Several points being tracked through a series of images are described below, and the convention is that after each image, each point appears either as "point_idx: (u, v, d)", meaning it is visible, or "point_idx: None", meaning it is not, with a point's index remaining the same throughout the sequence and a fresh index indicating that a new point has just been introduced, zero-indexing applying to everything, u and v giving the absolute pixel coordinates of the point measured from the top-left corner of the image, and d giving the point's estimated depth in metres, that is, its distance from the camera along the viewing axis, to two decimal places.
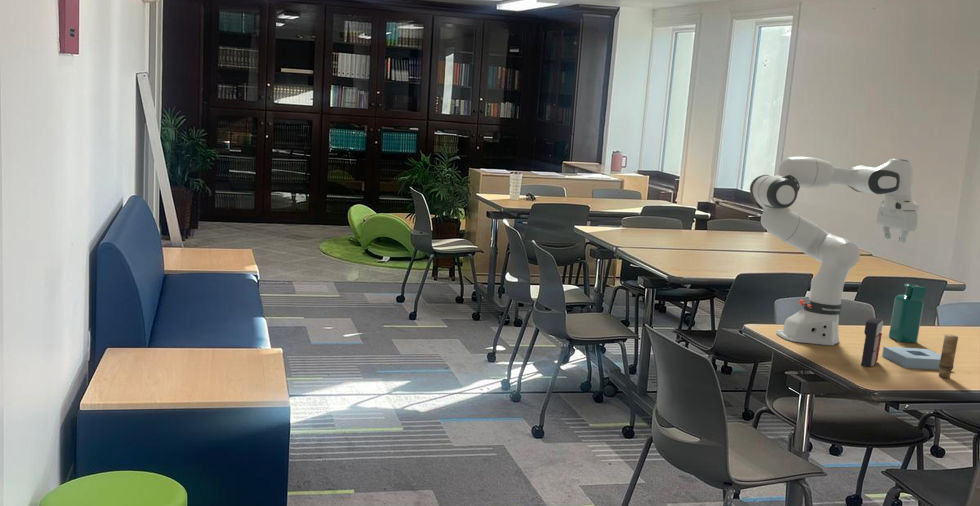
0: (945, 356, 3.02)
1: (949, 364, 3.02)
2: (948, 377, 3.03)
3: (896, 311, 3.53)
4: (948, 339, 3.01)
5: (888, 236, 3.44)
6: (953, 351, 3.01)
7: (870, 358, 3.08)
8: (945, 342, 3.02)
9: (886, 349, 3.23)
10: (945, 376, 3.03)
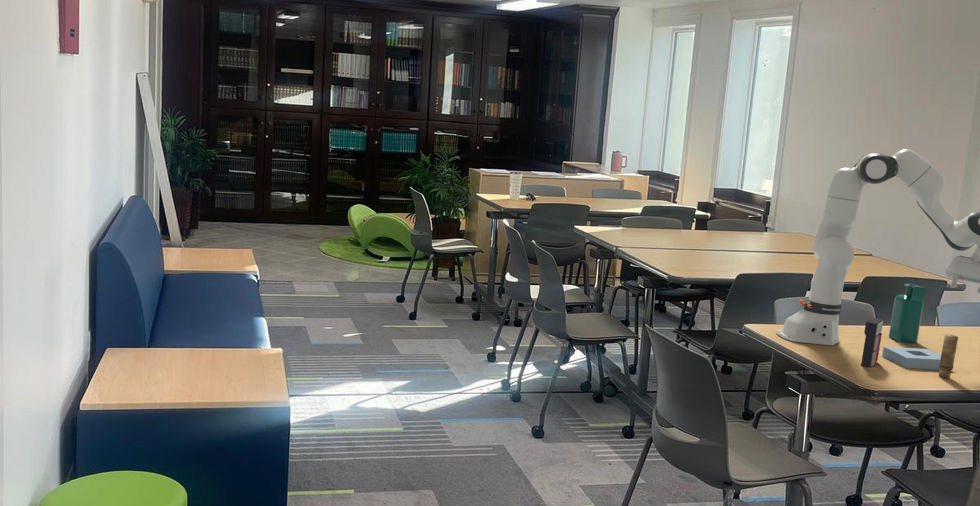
0: (945, 356, 3.02)
1: (949, 364, 3.02)
2: (948, 377, 3.03)
3: (896, 311, 3.53)
4: (947, 339, 3.01)
5: (955, 285, 3.18)
6: (953, 351, 3.01)
7: (870, 358, 3.08)
8: (945, 342, 3.02)
9: (886, 349, 3.23)
10: (945, 376, 3.03)
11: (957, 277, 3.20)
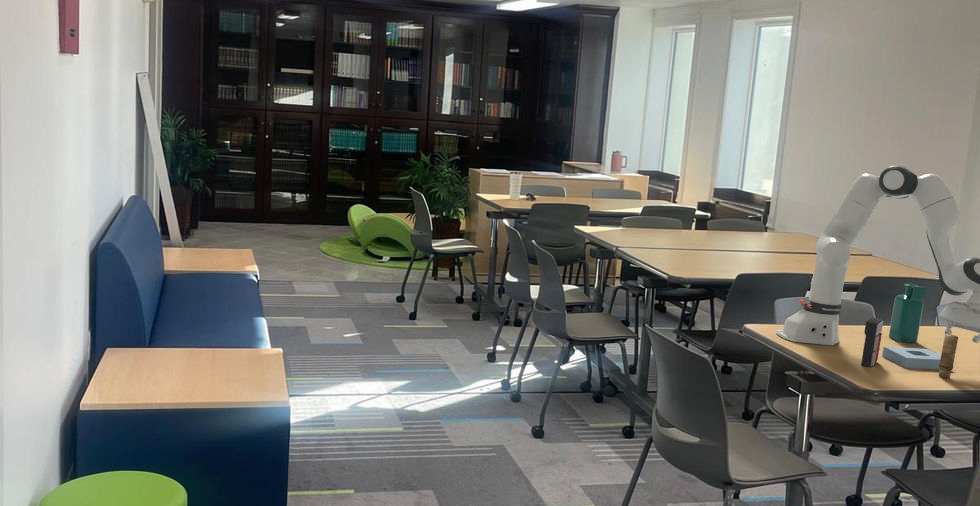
0: (945, 356, 3.02)
1: (949, 364, 3.02)
2: (948, 377, 3.03)
3: (896, 311, 3.53)
4: (948, 339, 3.01)
5: (950, 333, 3.09)
6: (953, 351, 3.01)
7: (870, 358, 3.08)
8: (945, 342, 3.02)
9: (886, 349, 3.23)
10: (945, 376, 3.03)
11: (952, 324, 3.11)
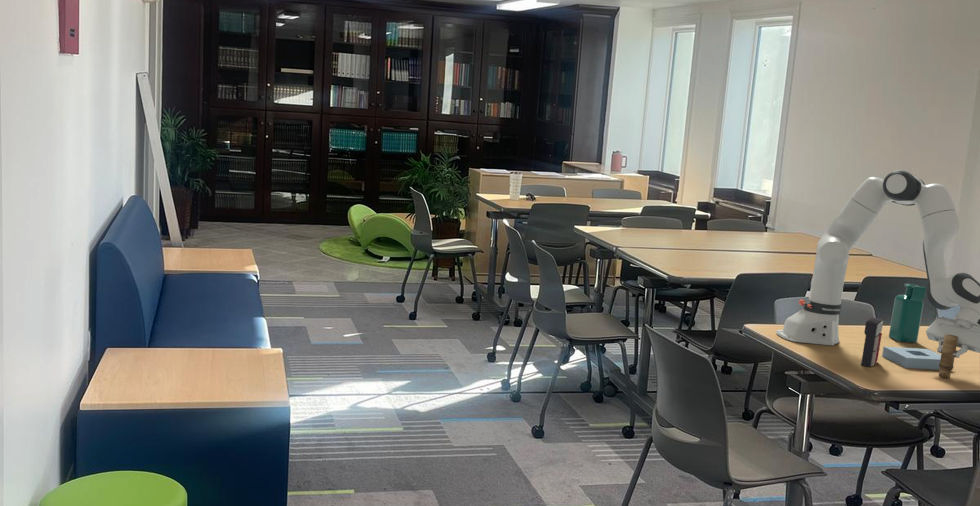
0: (945, 356, 3.02)
1: (949, 364, 3.02)
2: (948, 377, 3.03)
3: (896, 311, 3.53)
4: (947, 339, 3.01)
5: None
6: (953, 351, 3.01)
7: (870, 358, 3.08)
8: (945, 342, 3.02)
9: (886, 349, 3.23)
10: (945, 376, 3.03)
11: None
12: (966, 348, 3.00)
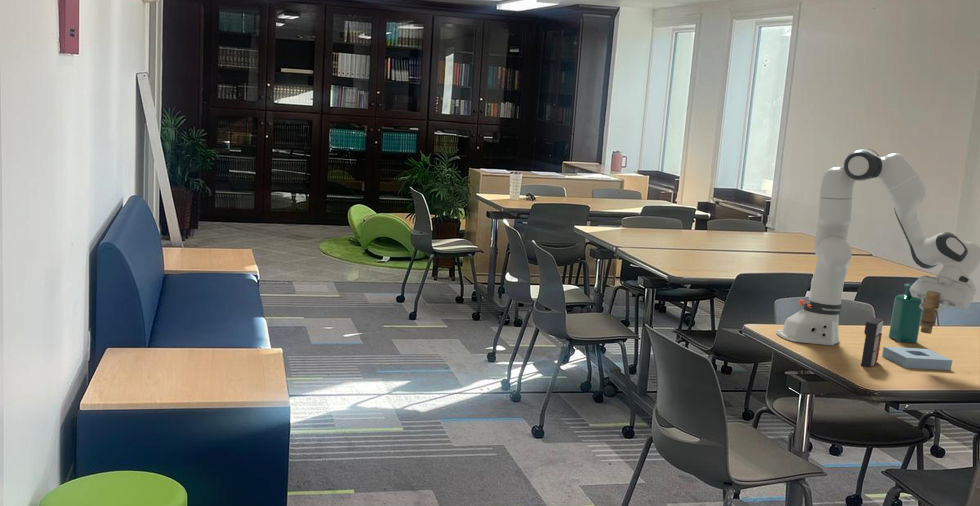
0: (927, 312, 3.12)
1: (931, 319, 3.12)
2: (929, 332, 3.13)
3: (896, 311, 3.53)
4: (929, 295, 3.11)
5: None
6: (935, 307, 3.11)
7: (870, 358, 3.08)
8: (927, 298, 3.12)
9: (886, 349, 3.23)
10: (927, 331, 3.13)
11: None
12: (947, 304, 3.10)
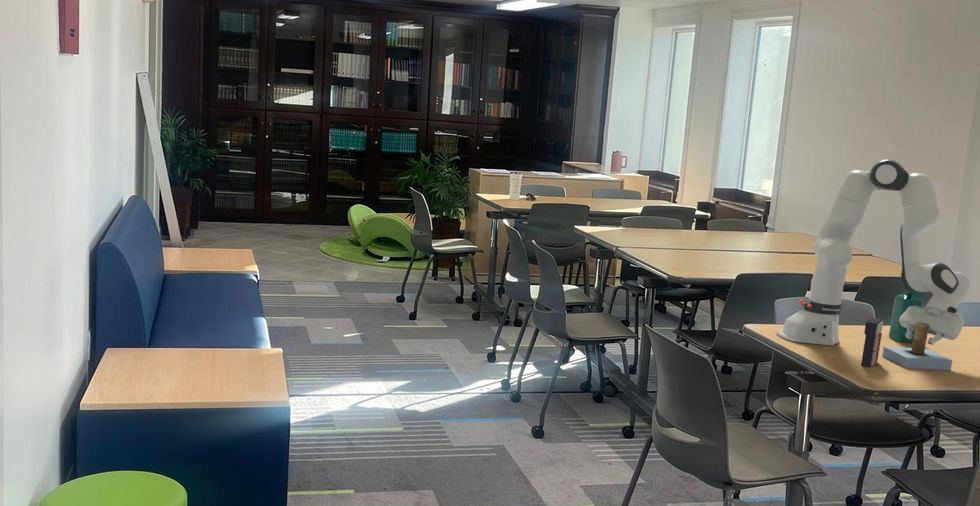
0: (917, 343, 3.17)
1: (920, 350, 3.17)
2: None
3: (896, 311, 3.53)
4: (919, 327, 3.17)
5: (910, 336, 3.21)
6: (924, 338, 3.17)
7: (870, 358, 3.08)
8: (917, 330, 3.18)
9: (886, 349, 3.23)
10: None
11: (912, 328, 3.23)
12: (940, 335, 3.15)
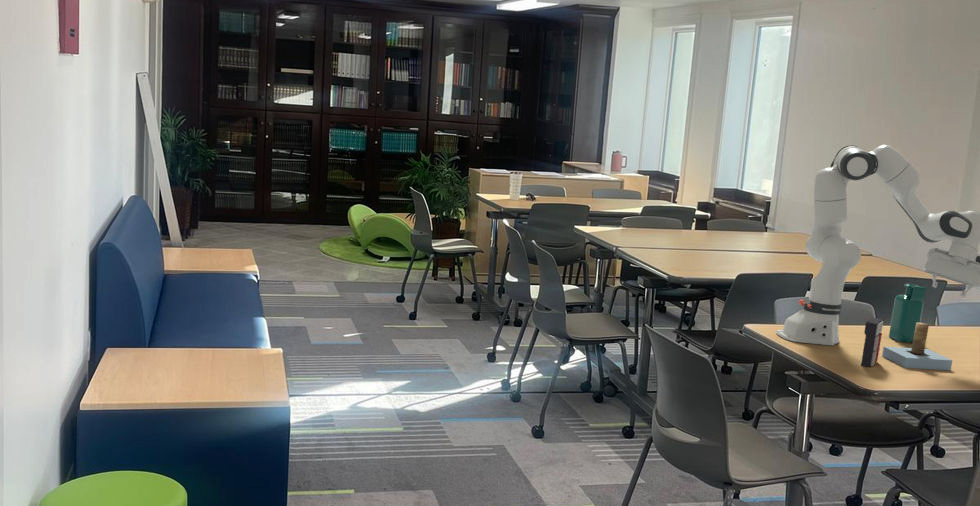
0: (917, 343, 3.17)
1: (920, 350, 3.17)
2: None
3: (896, 311, 3.53)
4: (919, 327, 3.17)
5: (936, 285, 3.26)
6: (924, 338, 3.17)
7: (870, 358, 3.08)
8: (916, 330, 3.18)
9: (886, 349, 3.23)
10: None
11: (937, 275, 3.27)
12: (971, 287, 3.22)
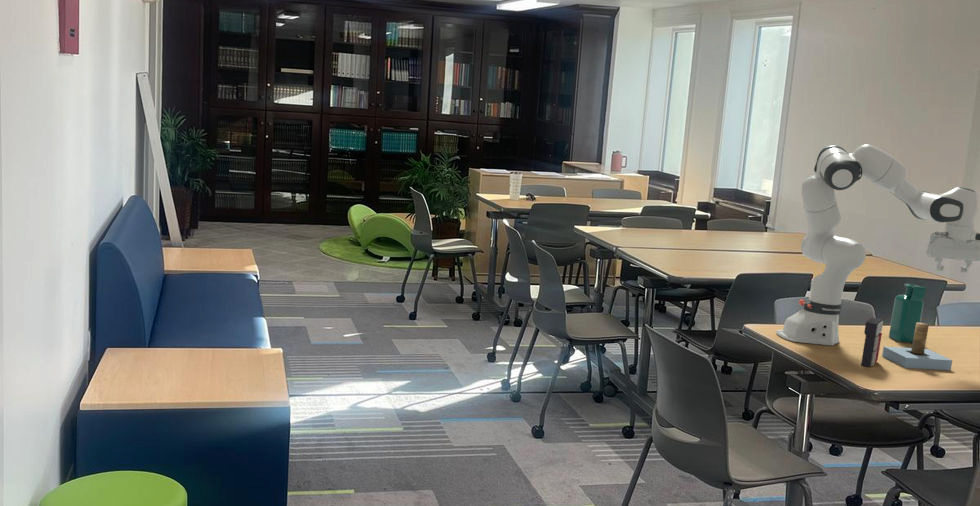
0: (917, 343, 3.17)
1: (920, 350, 3.17)
2: None
3: (896, 311, 3.53)
4: (919, 327, 3.17)
5: None
6: (924, 338, 3.17)
7: (870, 358, 3.08)
8: (916, 330, 3.18)
9: (886, 349, 3.23)
10: None
11: None
12: None
